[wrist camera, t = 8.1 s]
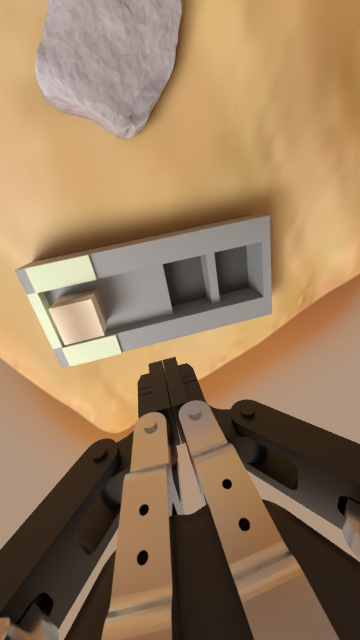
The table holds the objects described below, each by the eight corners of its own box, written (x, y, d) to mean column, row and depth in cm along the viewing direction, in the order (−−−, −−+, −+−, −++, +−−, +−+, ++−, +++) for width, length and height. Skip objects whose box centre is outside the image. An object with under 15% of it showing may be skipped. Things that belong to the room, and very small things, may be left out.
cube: (96, 287, 27) (91, 299, 23) (107, 319, 28) (104, 335, 25) (59, 296, 26) (48, 309, 23) (73, 328, 28) (64, 345, 24)
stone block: (179, 22, 23) (67, -83, 18) (200, -8, 19) (65, -152, 14) (137, 157, 27) (36, 100, 22) (148, 154, 23) (28, 84, 18)
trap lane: (250, 215, 30) (271, 215, 25) (255, 301, 34) (273, 314, 30) (32, 261, 27) (13, 270, 23) (70, 347, 32) (61, 368, 28)
